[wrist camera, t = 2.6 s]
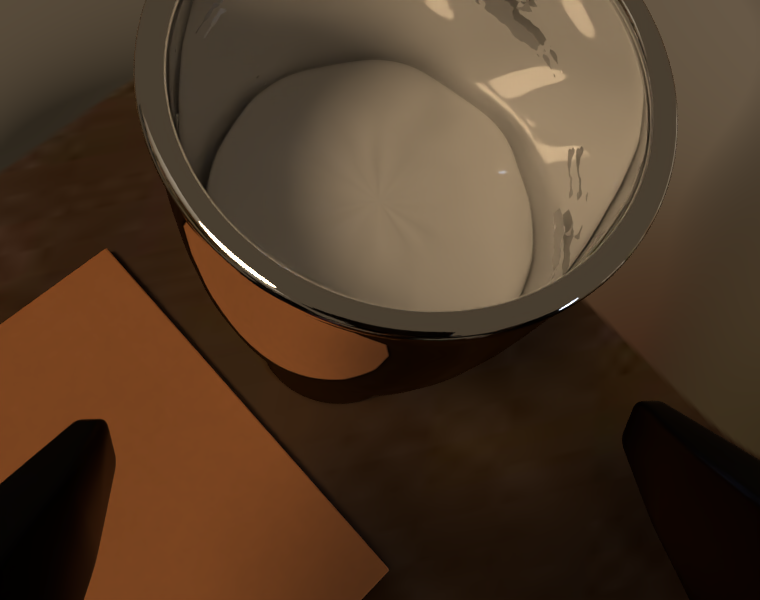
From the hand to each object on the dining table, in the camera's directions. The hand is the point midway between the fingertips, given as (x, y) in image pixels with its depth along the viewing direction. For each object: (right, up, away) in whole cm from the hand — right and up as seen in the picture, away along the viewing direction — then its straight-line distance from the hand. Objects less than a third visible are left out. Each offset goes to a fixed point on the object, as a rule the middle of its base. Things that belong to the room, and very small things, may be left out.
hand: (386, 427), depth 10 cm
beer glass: (-2, +1, +12) cm, 12 cm away
